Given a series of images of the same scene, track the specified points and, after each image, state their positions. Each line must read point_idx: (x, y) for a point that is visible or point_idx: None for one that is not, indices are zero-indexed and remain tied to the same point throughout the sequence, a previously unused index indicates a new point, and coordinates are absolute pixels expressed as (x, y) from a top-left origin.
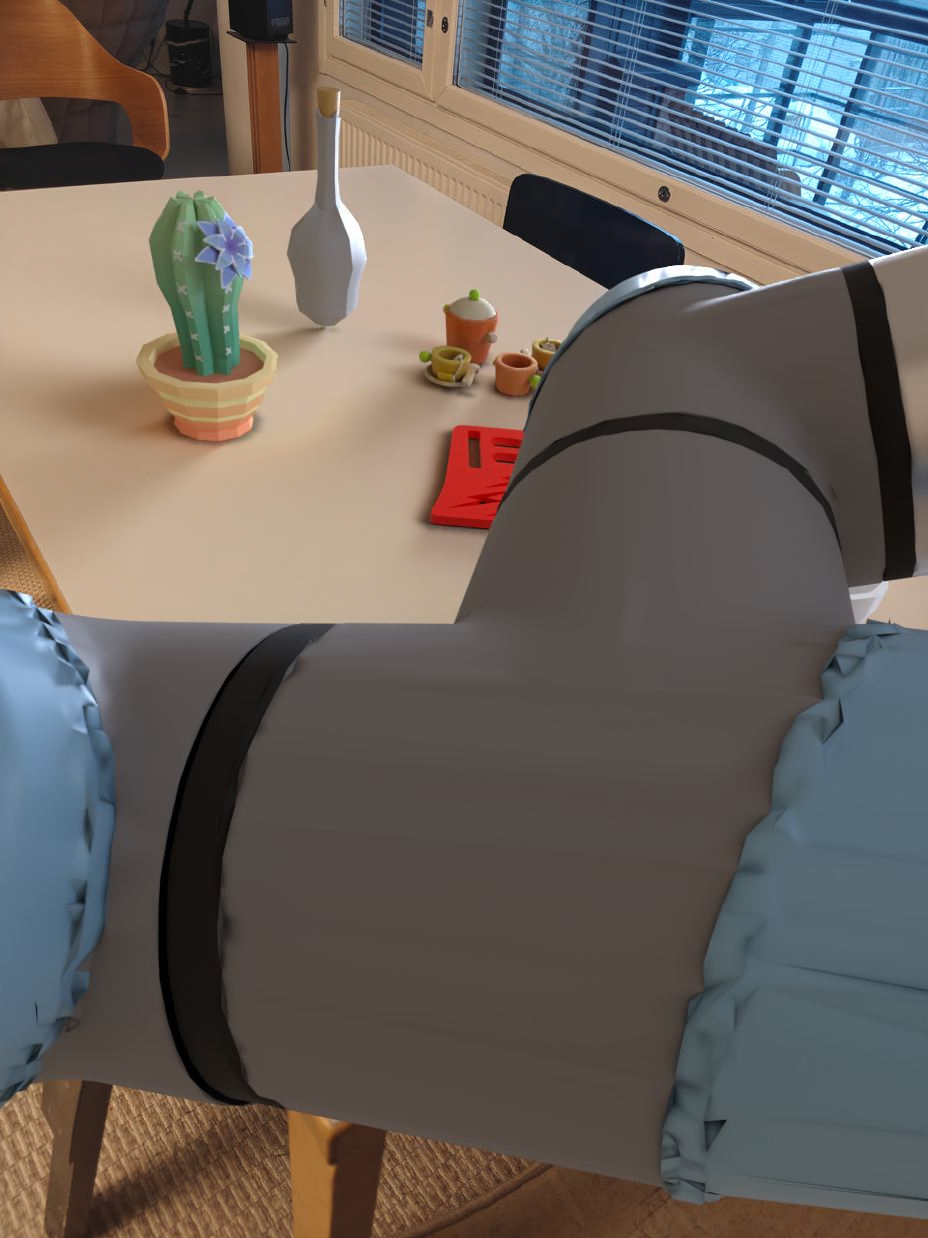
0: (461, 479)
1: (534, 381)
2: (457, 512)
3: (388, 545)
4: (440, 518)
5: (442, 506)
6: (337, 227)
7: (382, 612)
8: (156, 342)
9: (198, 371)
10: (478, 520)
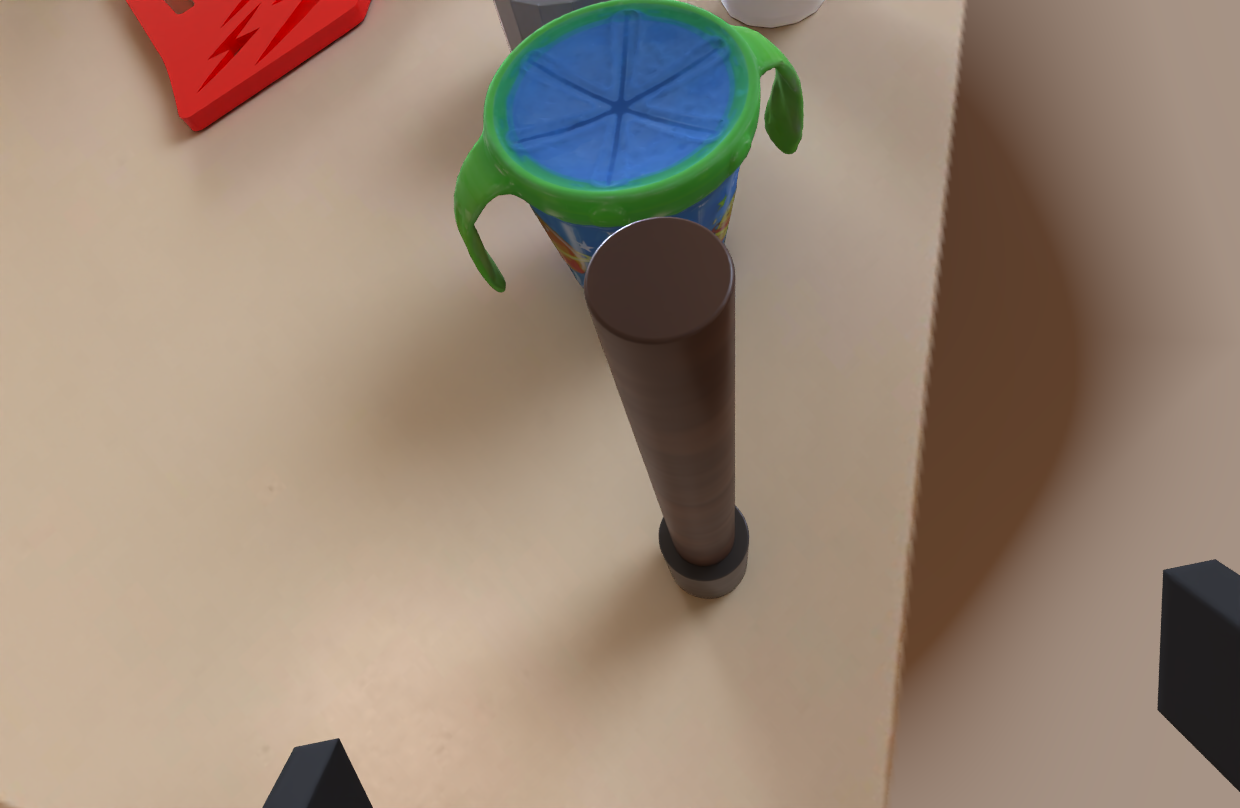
0: (181, 40)
1: None
2: (215, 89)
3: (166, 210)
4: (200, 116)
5: (188, 97)
6: None
7: (238, 313)
8: None
9: None
10: (252, 78)
